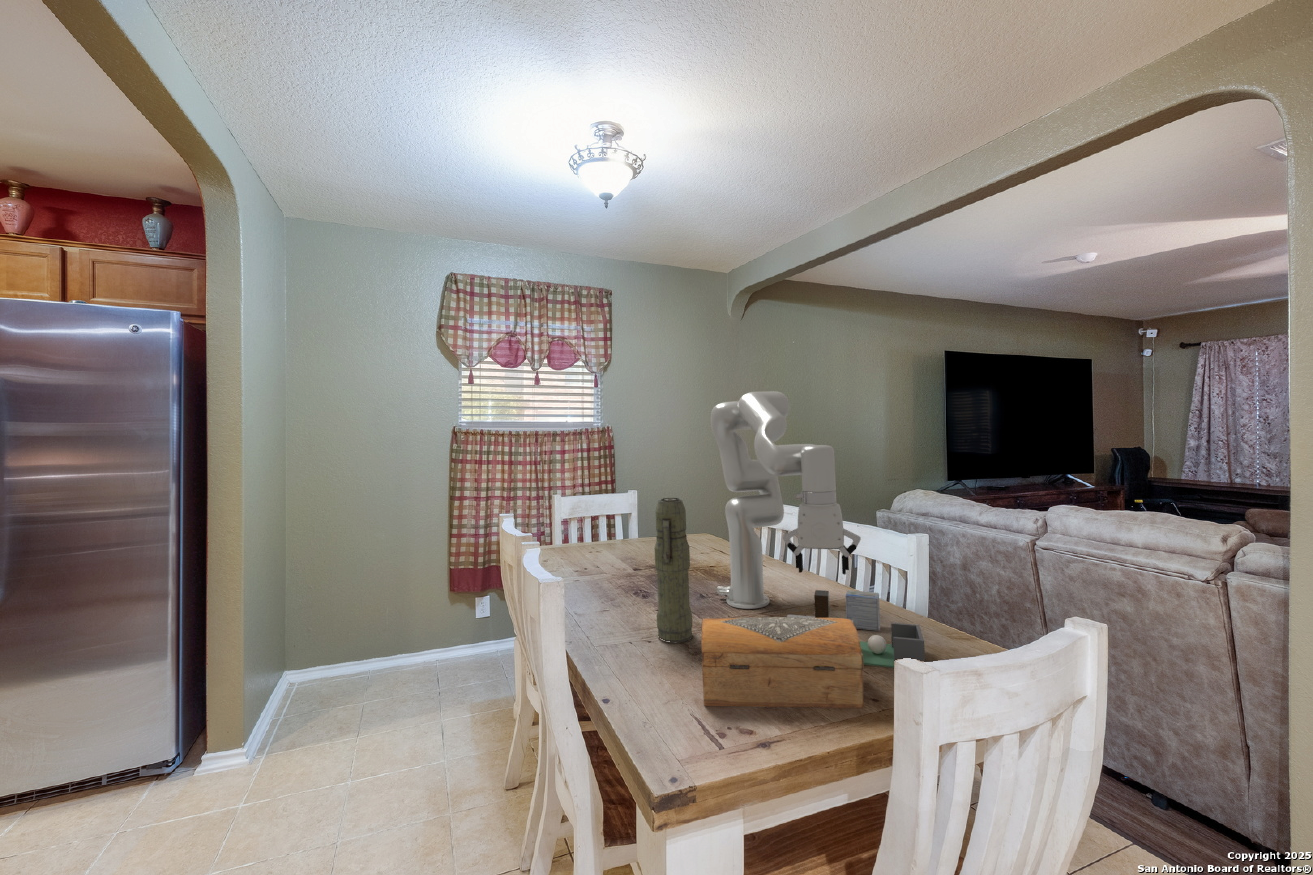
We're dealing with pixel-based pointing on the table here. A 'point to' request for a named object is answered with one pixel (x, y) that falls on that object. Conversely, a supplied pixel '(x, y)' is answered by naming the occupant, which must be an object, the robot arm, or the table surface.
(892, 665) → the pitch mat
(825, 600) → the grey brown blocky piece
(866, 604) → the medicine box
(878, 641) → the ball
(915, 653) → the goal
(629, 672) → the table surface
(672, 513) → the thermos
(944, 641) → the table surface
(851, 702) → the wooden box
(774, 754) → the table surface
